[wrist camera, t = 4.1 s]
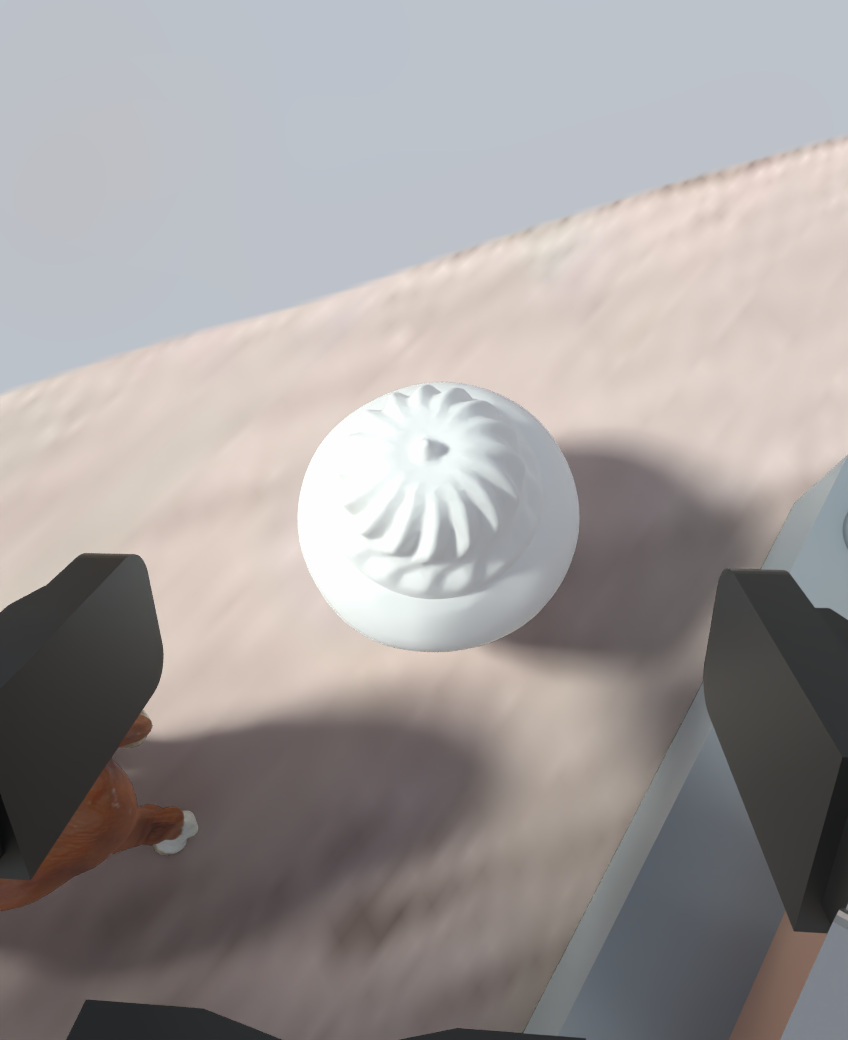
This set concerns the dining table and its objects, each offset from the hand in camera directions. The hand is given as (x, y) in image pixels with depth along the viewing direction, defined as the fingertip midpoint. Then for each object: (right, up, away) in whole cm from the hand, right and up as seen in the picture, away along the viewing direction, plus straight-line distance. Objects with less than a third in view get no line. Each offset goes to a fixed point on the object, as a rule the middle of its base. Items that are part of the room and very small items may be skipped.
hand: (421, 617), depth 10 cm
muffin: (+1, 0, +9) cm, 9 cm away
